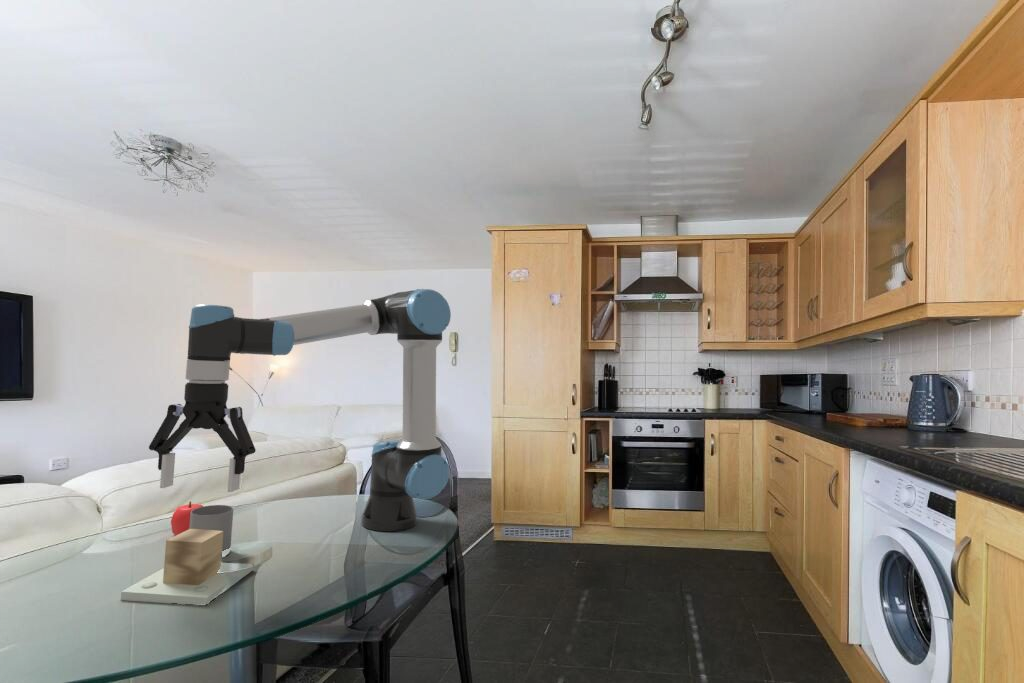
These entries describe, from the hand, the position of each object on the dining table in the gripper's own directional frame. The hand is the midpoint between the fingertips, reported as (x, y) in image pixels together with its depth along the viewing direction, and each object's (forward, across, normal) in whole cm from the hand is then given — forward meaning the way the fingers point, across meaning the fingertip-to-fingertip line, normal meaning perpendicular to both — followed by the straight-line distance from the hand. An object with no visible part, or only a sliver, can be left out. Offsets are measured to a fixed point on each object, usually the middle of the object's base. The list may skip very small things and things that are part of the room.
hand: (199, 488), depth 104 cm
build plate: (+18, 0, 0) cm, 19 cm away
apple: (+19, +19, -27) cm, 38 cm away
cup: (+19, +6, -14) cm, 24 cm away
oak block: (+17, 0, 0) cm, 17 cm away
